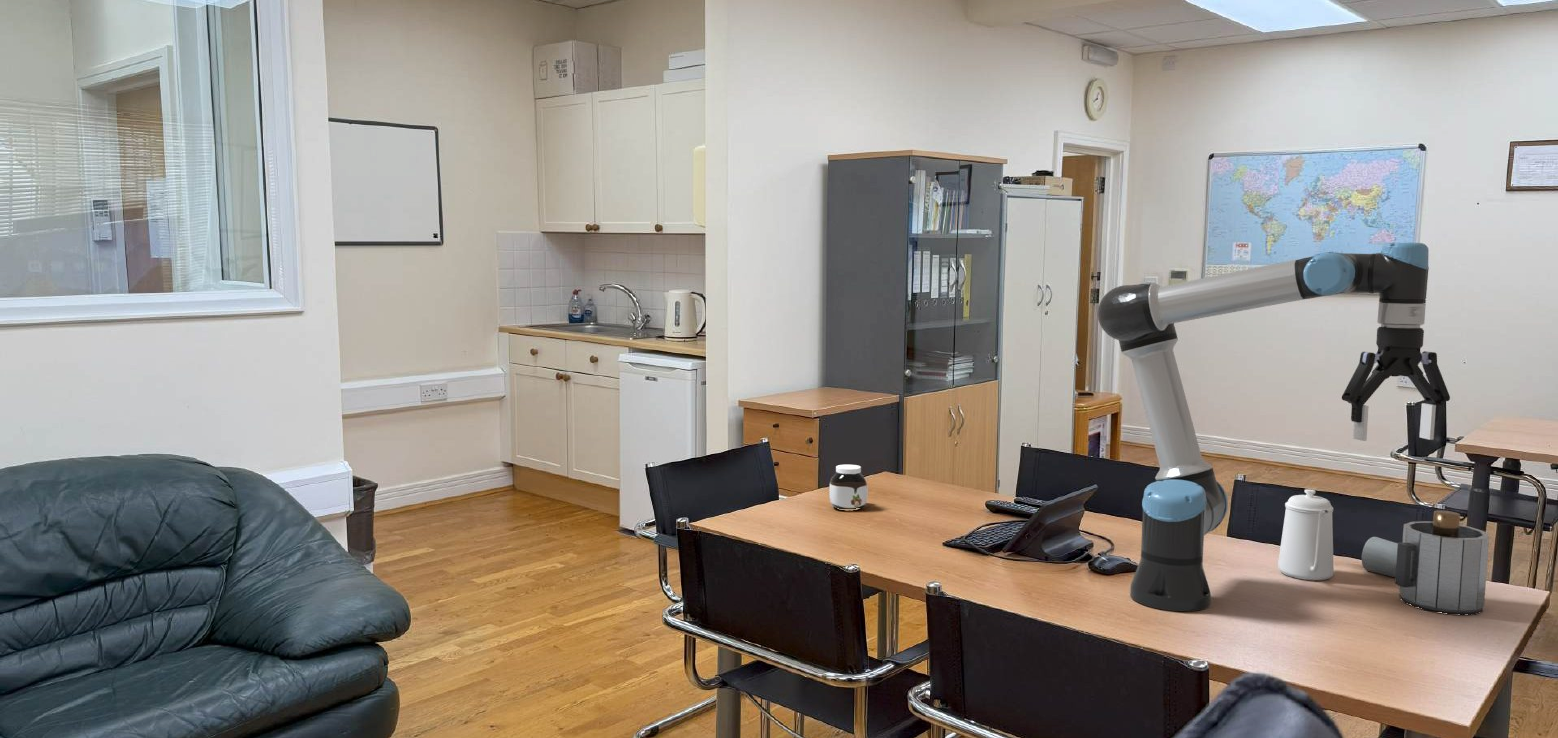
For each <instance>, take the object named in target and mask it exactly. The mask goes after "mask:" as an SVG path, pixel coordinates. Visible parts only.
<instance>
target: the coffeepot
mask: <svg viewBox="0 0 1558 738" xmlns="http://www.w3.org/2000/svg"><path fill="white" fill-rule="evenodd" d="M1304 493H1305V494H1298V495H1297V494H1295V495H1292V496H1290V497H1289V499H1288V500H1287V501H1286V502H1285V503H1284V507H1285V513H1284V520H1283V527H1282V532H1281V533H1282V535H1281V541H1280V548H1279V555H1278V561H1277V569H1278V571H1279V572H1280V573H1282V574H1283V575H1285V576H1288V577H1290V578H1293V577H1294V579H1298V580H1305V581H1316V580H1317V581H1325V580H1329V579H1331V578H1332V577H1333V576H1334V569H1335V568H1334V539H1333V538H1334V536H1333V535H1334V532H1333V531H1334V530H1333V529H1334V528H1333V512H1334V507H1333V506H1332V505H1331V501H1330V500H1328V499H1327V498H1324V497H1322V496H1318V495H1315V494H1316V490H1314V489H1304ZM1317 581H1316V582H1317Z"/></svg>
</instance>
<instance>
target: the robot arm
mask: <svg viewBox="0 0 1558 738" xmlns="http://www.w3.org/2000/svg"><path fill="white" fill-rule="evenodd" d="M1429 268H1430V267H1429V246H1427V244H1425V243H1423V242H1386V243H1384V244H1383V245H1382V249H1381V250H1380V252H1377V253H1343V252H1342V253H1341V252H1336V251H1335V252H1334V251H1329V252H1328V251H1327V252H1322V253H1317V254H1314V255H1312V256H1308V257H1303V258H1299V259H1294V260H1288V261H1282V262H1279V263H1278V262H1277V263H1273V264H1268V265H1264V266H1257V267H1253V268H1248V269H1242V270H1238V271H1234V272H1233V271H1232V272H1227V273H1223V274H1219V275H1212V276H1207V277H1204V278H1198V279H1193V280H1189V281H1187V280H1186V281H1183V282H1178V283H1173V284H1168V285H1164V286H1161V285H1159V284H1158V283H1156V282H1153V283H1139V284H1124V285H1119V286H1116V287H1114V288H1111V290H1109V291H1107V293H1105V294H1104V295H1103V297H1102V298H1101V300H1100V302H1099V305H1098V307H1097V308H1098V309H1097V319H1098V323H1099V325H1100V327H1101V328H1102V330H1103V332H1104V333H1105V334H1106V335H1108V336H1109V337H1111V338H1112V339H1114V340H1117V341H1118V342H1119V343H1118V344H1119V346H1120V350H1121V354H1122V355H1124V356H1126V357H1128V358H1129V359H1130V360H1131V363H1132V366H1133V370H1134V374H1135V377H1136V382H1137V385H1138V388H1139V392H1140V397H1141V400H1142V401H1141V402H1142V404H1143V409H1144V411H1145V415H1146V420H1147V423H1148V428H1149V430H1150V434H1151V439H1152V442H1153V445H1154V450H1155V452H1156V456H1157V461H1158V464H1159V470H1158V472H1157V473H1156V475H1155V477H1154V478H1155V481H1154V482H1151V483H1150V484H1147V486H1146V487H1145V488H1144V491H1143V498H1142V500H1141V501H1142V502H1141V506H1142V522H1141V523H1142V524H1141V526H1142V527H1141V547H1140V549H1141V551H1140V560H1139V562H1138V566H1137V567H1136V570H1135V573H1134V574H1133V575H1134V576H1133V577H1132V581H1131V583H1130V592H1129V594H1130V598H1131V599H1132V600H1133V601H1135V602H1136V603H1138V604H1141V605H1143V606H1146V607H1149V608H1155V609H1159V610H1164V611H1171V612H1194V611H1201V610H1205V609H1207V608H1209V607H1210V606H1211V596H1212V595H1211V589H1210V586H1209V583H1208V579H1207V576H1206V573H1205V570H1204V565H1203V561H1204V542H1205V541H1204V540H1205V535H1208V533H1210V532H1212V531H1214V530H1216V529H1217V528H1218V527H1219V526H1220V525H1221V523H1222V522H1223V521H1224V519H1225V517H1226V515H1227V512H1228V508H1229V501H1228V495H1227V492H1226V491H1225V489H1224V487H1223V485H1222V484H1221V483H1219V482H1218V481H1217V479H1216V476H1215V471H1214V468H1213V465H1212V464H1210V463H1208V462H1206V461H1205V460H1204V459H1203V456H1202V453H1201V448H1200V445H1199V442H1198V437H1197V435H1196V431H1195V426H1194V423H1193V419H1192V415H1191V411H1190V408H1189V403H1188V401H1187V400H1188V399H1187V396H1186V393H1185V390H1184V386H1183V383H1182V378H1181V375H1180V372H1179V367H1178V364H1177V361H1176V356H1175V353H1174V347H1175V346H1176V344H1177V343H1178V341H1179V339H1178V335H1177V331H1176V327H1175V324H1176V323H1177V324H1178V323H1182V322H1188V321H1193V320H1200V319H1204V318H1209V317H1215V316H1221V315H1226V314H1227V315H1228V314H1233V313H1237V312H1242V311H1248V310H1253V309H1259V308H1264V307H1270V306H1275V305H1282V304H1286V303H1291V302H1298V301H1303V300H1309V299H1310V300H1311V299H1315V298H1321V297H1327V296H1328V297H1329V296H1334V295H1339V294H1370V295H1371V294H1378V295H1379V298H1378V310H1377V323H1378V324H1379V325H1380V326H1378V328H1377V329H1376V340H1375V341H1376V346H1377V352H1376V353H1375V352H1370V351H1369V352H1368V351H1362V352H1360V358H1359V362H1358V365H1357V367H1356V368H1355V370H1354V373H1353V374H1352V377H1351V379H1350V381H1349V382H1348V384H1347V385H1346V388H1345V389H1344V391H1343V393H1342V396H1341V400H1343V401H1344V402H1347V403H1348V404H1351V409H1350V410H1351V411H1350V412H1351V414H1350V420H1351V422H1353V432H1352V433H1353V434H1352V435H1353V436H1352V437H1353V439H1354V440H1358V441H1362V442H1367V440H1368V439H1367V435H1368V424H1369V423H1368V421H1369V420H1368V419H1369V405H1366V403H1367V402H1368V400H1370V398H1371V397H1372V396H1373V395H1374V393H1375V392H1376V391H1377V390H1378V389H1379V388H1380V387H1381V385H1382V384H1383V383H1384V381H1386V379H1389V378H1390V377H1407V378H1408V379H1409V380H1410V381H1411V383H1412V384H1413V385H1414V388H1416V390H1417V391H1418V392H1419V394H1420V395H1421V396H1422V398H1423V399H1424V400H1425V402H1426V403H1425V402H1423V403H1421V412H1420V425H1419V436H1418V437H1419V438H1421V439H1424V440H1431V441H1433V440H1434V438H1435V425H1436V422H1438V419H1439V410H1440V409H1439V408H1440V406H1443V405H1444V403H1445V402H1448V401H1450V400H1451V397H1450V394H1449V391H1448V388H1447V386H1446V383H1445V380H1444V378H1443V375H1442V373H1441V371H1440V367H1439V365H1438V354H1437V353H1436V352H1434V351H1422V352H1421V349H1422V348H1423V346H1424V334H1425V330H1424V329H1423V327H1421V326H1423V325H1424V324H1425V319H1426V318H1425V317H1426V307H1427V306H1426V301H1427V291H1428V279H1429V270H1430V269H1429ZM1420 363H1421V365H1422V368H1423V370H1424V371H1422V369H1421V368H1420V366H1419V364H1420ZM1375 364H1377V365H1376V366H1375ZM1374 366H1375V367H1374ZM1373 367H1374V369H1373ZM1424 373H1425V375H1424ZM1425 376H1426V377H1425Z"/></svg>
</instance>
